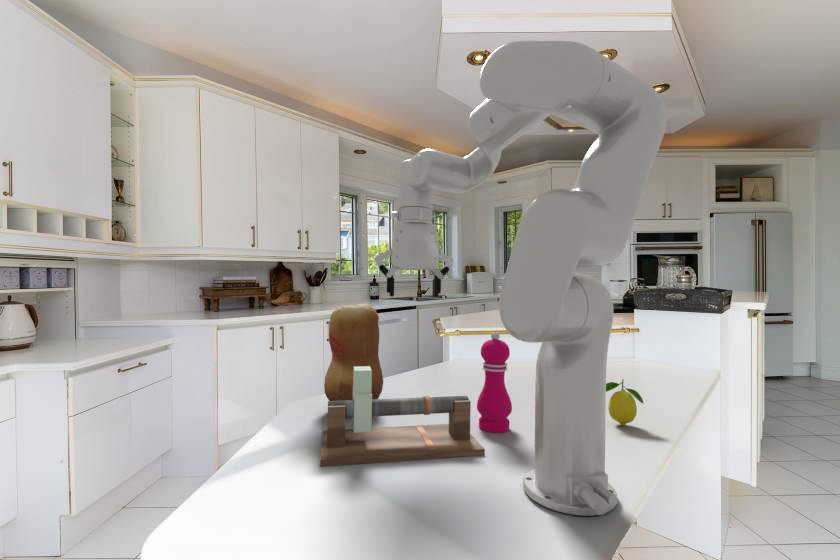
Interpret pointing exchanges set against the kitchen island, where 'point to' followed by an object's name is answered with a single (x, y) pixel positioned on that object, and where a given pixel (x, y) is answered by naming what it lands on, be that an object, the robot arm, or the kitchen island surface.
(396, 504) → the kitchen island surface
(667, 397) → the kitchen island surface
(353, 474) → the kitchen island surface
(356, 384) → the sleeve
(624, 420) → the lemon
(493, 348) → the pepper mill
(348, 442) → the pipe stand
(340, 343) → the butternut squash
